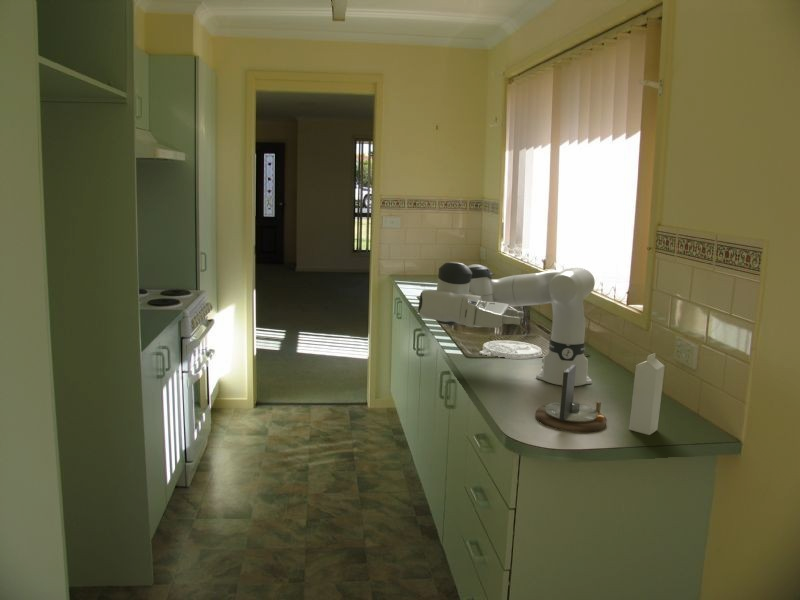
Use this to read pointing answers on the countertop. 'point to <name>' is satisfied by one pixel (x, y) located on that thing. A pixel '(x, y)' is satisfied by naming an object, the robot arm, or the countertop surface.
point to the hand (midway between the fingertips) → (521, 318)
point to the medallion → (511, 349)
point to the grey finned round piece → (571, 403)
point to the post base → (571, 427)
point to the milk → (647, 396)
